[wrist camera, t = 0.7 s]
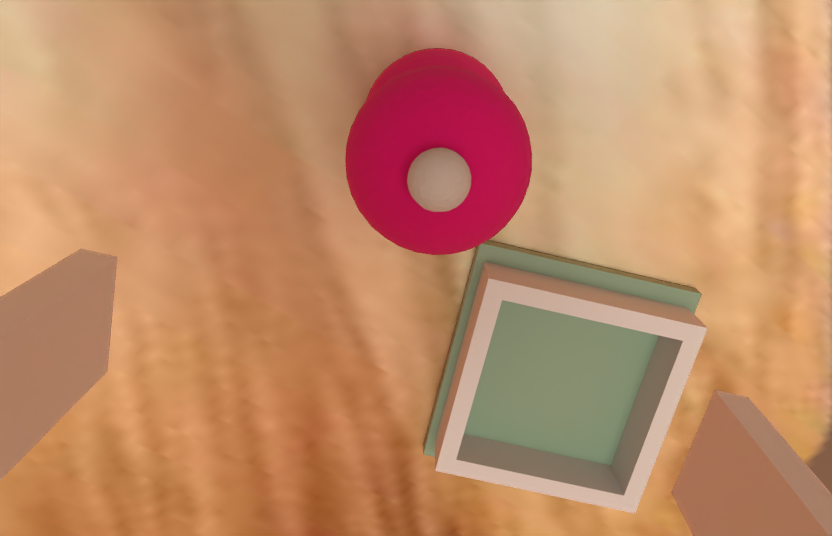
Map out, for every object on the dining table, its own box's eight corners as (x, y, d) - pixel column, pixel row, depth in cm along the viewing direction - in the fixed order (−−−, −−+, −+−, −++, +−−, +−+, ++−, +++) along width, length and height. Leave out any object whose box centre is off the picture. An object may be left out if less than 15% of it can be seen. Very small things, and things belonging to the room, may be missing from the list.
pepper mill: (529, 125, 37) (632, 200, 18) (428, 209, 39) (425, 362, 19) (443, 19, 35) (456, -23, 16) (342, 111, 37) (246, 171, 18)
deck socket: (479, 238, 39) (484, 258, 35) (695, 288, 40) (723, 313, 36) (423, 445, 43) (422, 483, 39) (619, 487, 44) (637, 529, 40)
